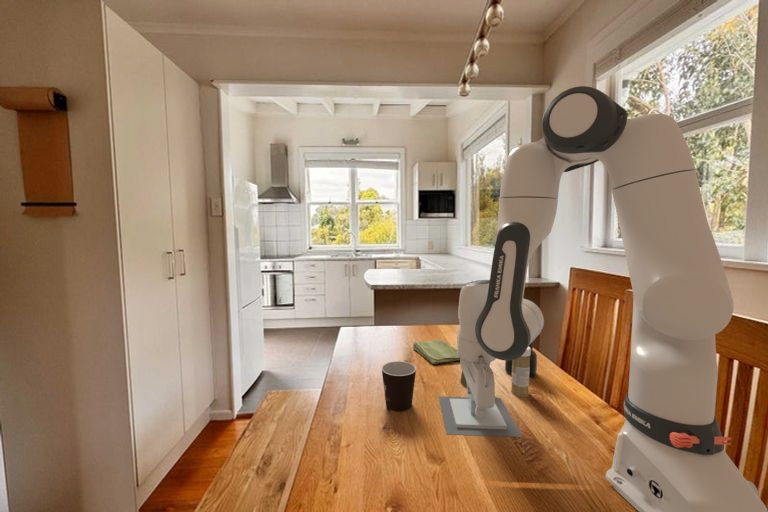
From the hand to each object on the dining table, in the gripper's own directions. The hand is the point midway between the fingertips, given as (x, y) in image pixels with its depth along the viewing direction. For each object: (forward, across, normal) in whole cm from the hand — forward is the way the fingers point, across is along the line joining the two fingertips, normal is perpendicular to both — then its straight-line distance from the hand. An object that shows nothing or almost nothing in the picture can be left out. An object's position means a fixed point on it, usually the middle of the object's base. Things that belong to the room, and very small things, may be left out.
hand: (475, 405), depth 77 cm
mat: (+3, 0, 0) cm, 3 cm away
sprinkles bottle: (+3, +11, -14) cm, 18 cm away
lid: (+2, 0, 0) cm, 2 cm away
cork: (+3, +16, -2) cm, 16 cm away
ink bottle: (+3, +25, -19) cm, 32 cm away
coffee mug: (+3, +5, +18) cm, 19 cm away
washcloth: (+4, +39, +5) cm, 39 cm away
